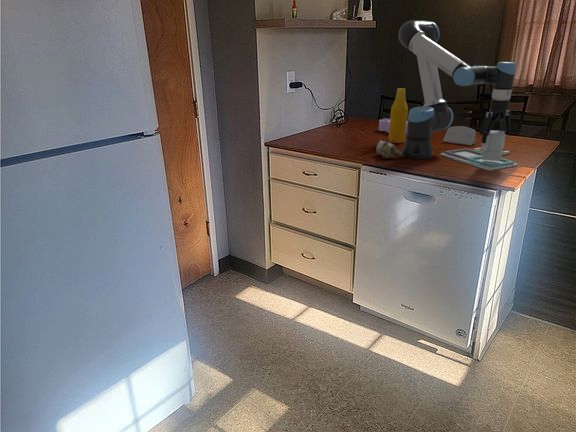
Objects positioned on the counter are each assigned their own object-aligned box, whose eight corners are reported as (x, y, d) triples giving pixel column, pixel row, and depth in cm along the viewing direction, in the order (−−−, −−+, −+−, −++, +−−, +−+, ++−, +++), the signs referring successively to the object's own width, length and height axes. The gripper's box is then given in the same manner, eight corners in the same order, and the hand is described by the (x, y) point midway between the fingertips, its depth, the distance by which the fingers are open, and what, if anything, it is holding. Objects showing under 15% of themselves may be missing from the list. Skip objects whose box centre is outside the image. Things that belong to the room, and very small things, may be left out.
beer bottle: (398, 144, 242) (403, 90, 231) (384, 141, 248) (389, 88, 237) (408, 141, 247) (413, 88, 236) (394, 139, 254) (399, 87, 243)
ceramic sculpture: (389, 135, 220) (406, 143, 208) (388, 152, 224) (404, 161, 211) (371, 137, 217) (387, 145, 204) (369, 154, 221) (385, 163, 208)
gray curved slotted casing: (442, 141, 248) (446, 123, 247) (444, 142, 252) (449, 125, 250) (472, 145, 238) (477, 127, 237) (474, 146, 242) (479, 129, 241)
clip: (374, 131, 275) (375, 120, 272) (385, 128, 283) (386, 118, 281) (403, 136, 262) (404, 124, 260) (413, 133, 270) (414, 121, 268)
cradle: (490, 156, 215) (491, 153, 214) (471, 151, 225) (471, 148, 225) (509, 154, 220) (509, 151, 220) (489, 148, 230) (490, 146, 230)
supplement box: (501, 157, 203) (505, 130, 198) (498, 161, 197) (502, 133, 192) (484, 156, 207) (488, 129, 202) (481, 159, 201) (485, 132, 196)
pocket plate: (488, 170, 193) (489, 166, 192) (440, 155, 218) (441, 151, 217) (517, 165, 200) (518, 161, 199) (467, 151, 225) (467, 147, 224)
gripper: (489, 101, 184) (480, 153, 193) (526, 98, 193) (516, 148, 202) (475, 99, 191) (467, 149, 199) (511, 96, 199) (502, 144, 208)
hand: (492, 148), depth 200 cm, fingers closed on supplement box, 10 cm apart
